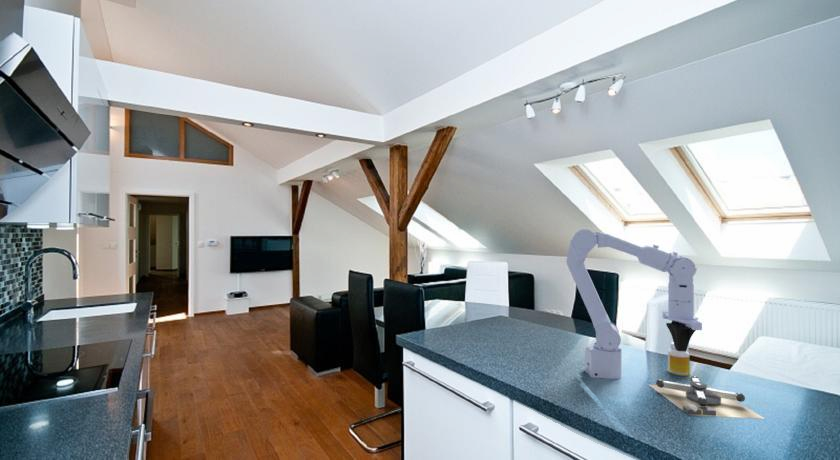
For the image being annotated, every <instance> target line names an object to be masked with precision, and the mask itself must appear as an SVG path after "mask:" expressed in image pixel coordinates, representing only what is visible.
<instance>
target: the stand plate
mask: <svg viewBox="0 0 840 460" xmlns="http://www.w3.org/2000/svg"><path fill="white" fill-rule="evenodd" d="M648 386H650V387H651V388H652V389H653V390H655V391H656V392H658V393H659V394H660V395H662V396H663V397H664V398H666V399H667V400H668V401H670V403H672V404H674V406H676V407H678V409H680V410H681V411H683V406H690V405H695V406H698V407H703V406H700V405H699V404H698V403H696V402H693V401H691V400H689V399H688V398H687V397H686V392H685V391H679V390H674V389H668V388H660V387H658V386H657V385H656V384H648ZM707 388H711V389H714V388H713V387H712V386H707ZM705 407H711V408H712V409H714V410H715V411H716V415H698V414H687V413H686V412H684V413H685V414H687V415H688V416H690V417H691V416H693V417H694V416H695V417H713V418H714V417H715V418H737V419H739V418H740V419H758V420H759V419H760V420H761V419H762V420H766V418H765V417H763V416H762V415H760V414H758V413H757V412H755V411H753V410H752V409H749V408H748V407H746V406H744V405H742V404H741V403H739V401H736V400H730V399H725V398H721V405H718V406H709V405H707V406H705Z"/></svg>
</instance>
